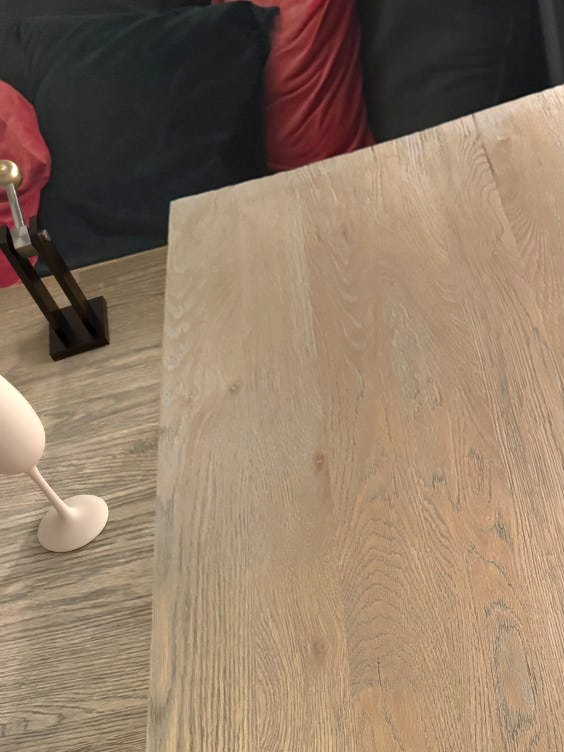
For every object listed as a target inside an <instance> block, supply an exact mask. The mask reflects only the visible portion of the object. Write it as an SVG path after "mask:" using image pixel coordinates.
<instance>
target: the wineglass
mask: <svg viewBox="0 0 564 752" xmlns="http://www.w3.org/2000/svg"><path fill="white" fill-rule="evenodd" d="M42 423H43V422H42V421H41V419H40V417H39V416H38V414H37V413H36V411H35V409H34V408H33V407H32V406H31V404H30V402H29V401H28V399H26V398H25V397H24V396H23V394H22V393H21V392H20V391H19V390H17V388H16V387H15V386H14V385H13V384H11V383H10V382H9V381H8V380H7V379H6V378H5V377H4V376H2V375H1V374H0V475H5V476H11V475H20V474H25V475H26V476H28V477H29V478H30V479H31V480H32V481H33V482H34V483H35V485H36V486H37V487H38V488H39V489H40V490H41V491H42V493H43V494H44V495H45V497H46V498H47V499H48V501H49V502H50V504H51V505H52V507H51V508H50V509H49V510H48V511H47V512H46V513H45V514H44V516H43V517H42V519H41V520H40V522H39V524H38V528H37V540H38V542H39V544H40V545H41V546H42V547H43V548H44V549H46V550H48V551H50V552H56V553H65V552H72V551H75V550H77V549H80V548H82V547H85V546H86V545H88V544H89V543H91V542H92V541H93V540H94V539H96V538H97V537H98V536H99V534H100V533H101V532H102V531H103V530H104V528H105V526H106V524H107V522H108V519H109V507H108V505H107V503H106V501H105V500H104V499H103V498H101V497H99V496H96V495H93V494H77V495H74V496H70V497H68V498H64V499H63V500H62V499H61V498H60V497H59V496H58V495H57V493H56V492H55V491H54V490H53V489H52V488H51V487H50V485H49V484H48V483H47V481H46V480H45V479H44V477H43V476H42V475H41V472H40V471H39V468H38V467H37V464H38V463H39V461H40V460H41V458H42V456H43V454H44V451H45V447H46V432H45V428H44V425H43V424H42Z"/></svg>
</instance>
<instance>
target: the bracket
mask: <svg viewBox="0 0 564 752" xmlns="http://www.w3.org/2000/svg"><path fill="white" fill-rule="evenodd" d="M28 228H29V237H30V238H31V240H32V241H33V243H34V245H35V246H36V248H37V250H38V251H39V253H40V256H41V258H42V259H43V261H44V263H45V264H46V266H47V267H48V269H49V270H50V272H51V274H52V275H53V277H54V279H55V280H56V282H57V283H58V286H60V289H61V290H62V292H63V293H64V295H65V297H66V298H67V300H68V301H69V303H70V305H67V306H64V307H61V308H60V307H59V305H58V303H57V302H56V301H55V299H54V297H53V296H52V294H51V293H50V291H49V289H48V287H47V286H46V284H45V283H44V282H43V280H42V278H41V276H40V275H39V274H38V272H37V271H36V269H35V267H34V266H33V265H32V262H31V261H30V260H29V259H30V258H27V259H23V257H22V256H21V255H20V254H19V253H18V252H17V251H16V250H15V248H14V244H13V240H12V237H11V233H10V230H11V229H10V228H9V226H8V224H6V223H5V224H2V225H0V251H1V252H2V254H3V255H4V257H5V258H6V260H7V261H8V263H9V264H10V267H12V269H13V271H14V272H15V273H16V275H17V277H18V279H19V280H20V281H21V282H22V284H23V286H24V287H25V289H26V290H27V292H28V294H29V295H30V296H31V298H32V299H33V301H34V303H35V304H36V305H37V307H38V308H39V310H40V313H42V315H43V316H44V318H45V319H46V321H47V322H48V353H49V354H48V355H49V357H50V358H51V360H52V361H53V362H58V361H61V360H63V359H64V360H65V359H67V358H69V357H73V356H77V355H79V354H83V353H85V352H86V353H87V352H88V351H92V350H95V349H98V348H101V347H104V346H108V345H110V332H109V331H110V330H109V318H108V302H107V300H106V298H105V297H104V295H102V294H101V295H99V296H95V297H93V298H89V299H87V297H86V295H85V294H84V292H83V291H82V289H81V287H80V285H79V283H78V282H77V280H76V278H75V277H74V276H73V273H72V271H71V270H70V269H69V267H68V266H67V264H66V262H65V261H64V258H63V257H62V255H61V254H60V252H59V251H58V249H57V246H56V245H55V244H54V242H53V241H52V239H51V236H50V234H49V232H48V231H47V229H45V227H44V225H43V223H42V222H41V220H40V219H39V216H38V215H37V214H34V215H31V216H29V217H28Z"/></svg>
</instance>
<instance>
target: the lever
mask: <svg viewBox="0 0 564 752" xmlns="http://www.w3.org/2000/svg"><path fill="white" fill-rule="evenodd" d="M23 181H24V175H23V172H22V170H21V167H19V166H18V165H17V164H16V163H15V162H14V161H12V160H9V159H0V188H1V189H2V190H5V192H6V196H7V200H8V204H9V208H10V212H11V215H12V219H13V223H14V226H15V228H12V229H10V233H11V237H12V240H13V244H14V248H15V250H16V251H17V252H18V253H19V254H20V255H21V256H22V257H23V259H27V258H28V259H30V258H34V257H37V256H39V255H40V256H41V254H40V253H39V251H38V250H37V248H36V246H35V245H34V243H33V241H32V240H31V238H30V237H29V226H28V225H27V223H26V218H25V215H24V212H23V207H22V204H21V199H20V196H19V192H18V189H19V188H21V186H22V185H23Z"/></svg>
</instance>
